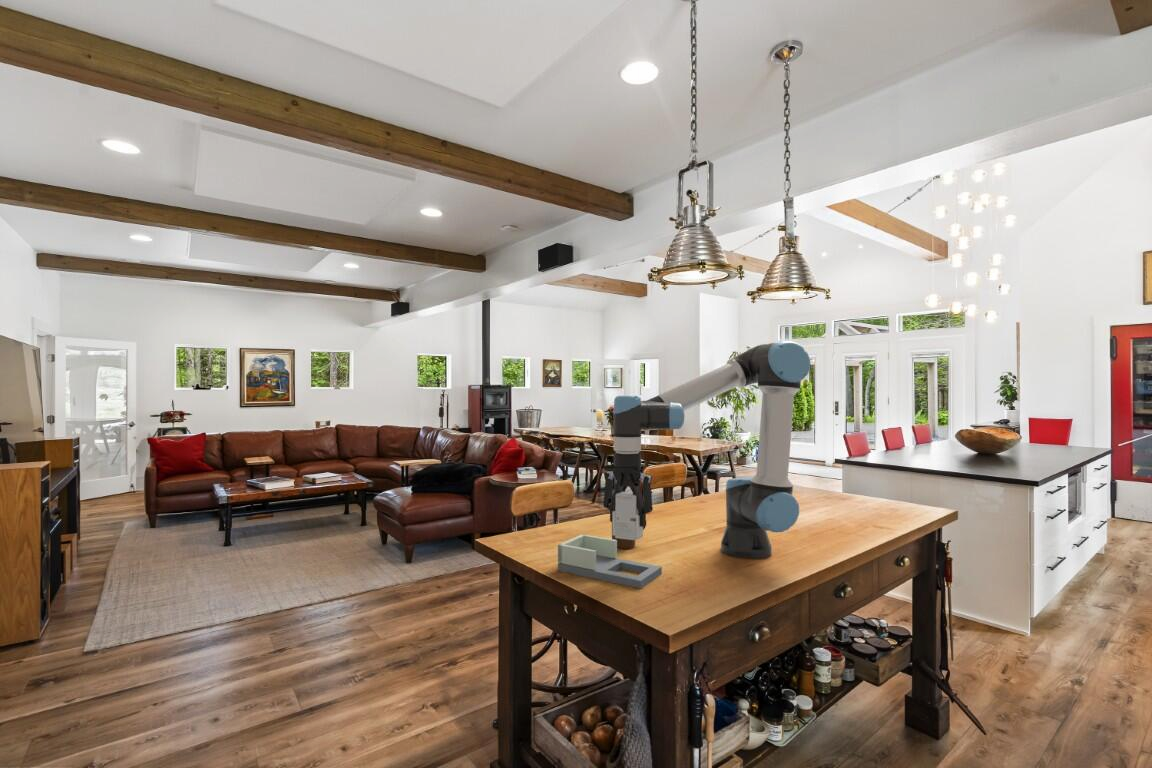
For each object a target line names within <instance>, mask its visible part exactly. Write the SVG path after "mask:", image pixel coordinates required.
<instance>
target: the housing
mask: <svg viewBox="0 0 1152 768" xmlns="http://www.w3.org/2000/svg"><path fill="white" fill-rule="evenodd" d="M596 555H600V556H606V557H611V558H618V548H617V540H613V539H612V538H606V537H601V536H600V537H599V536H595V535H588V534H582V533H581V534H579V535H577V536H575V537H573V538H570V539H568V540H566V541H564V542H561V543H559V544H557V564H558V563H563V564H568V565H573V566H578V567H582V568H587V569H592V570H595V569H596Z"/></svg>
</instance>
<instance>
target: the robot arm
mask: <svg viewBox="0 0 1152 768" xmlns="http://www.w3.org/2000/svg"><path fill="white" fill-rule="evenodd" d="M810 370H811V358H810V356H809V353H808V352H807V351H806V349H805V348H804V347H803V346H802V345H800V344H799V343H797V342H795V341H790V340H787V341H783V340H782V341H781V340H780V341H776V342H770V343H764V344H763V343H762V344H760V345H759V344H758V345H756V346H754V347H752V348H749V349H747V350H745V351H744V352H742V353H740V354H738V355H736V356H734V357H732V358H729V359H728V360H727V361H726V364H725V365H722V366H721V367H718V368H716V369H713V370H711V371H709V372H707V373H705V374H702V375H701V376H698V377H696V378H693V379H691V380H690V381H687V382H684V383H682V384H680V385H678V386H675V387H674V388H671V389H669V390H667V391H665V392H663V393H660V394H658V395H657V396H654V397H652V398H651V397H650V398H649V399H648V400H642V397H641V396H639V395H617V396H616V397H614V400H613V411H612V414H613V451H614V453H613V466H614V468H613V470H611V471H606V472H604V473H603V475H604V476H603V477H604V480H605V481H604V493H603V495H604V497H603V507H604V508H605V509H606V508H607V509H608V510H609V521H610V523H612V522H613V535H615V505H616V494H617V493H620V492H624V491H623V490H624V488H625V487H629V489H630V491H631V492H632V493H633V495H636V506H637V509H638V514H637V515H636V540H641V539H643V537H644V530H643V526H645V525H646V526H647V519H646V517H647V514H649V513H652V512H653V511H654V509H653V498H652V487H651V482H652V480H653V476H652V475H651V474H648V475H647V474H645V473H643V471H642V453H641V450H642V431H649V430H650V431H651V430H657V431H660V430H661V431H663V430H664V431H665V430H666V431H668V430H669V431H672V430H680V429H682V427H683V425H684V423H685V411H687V410H688V409H691V408H693V407H696V406H697V405H700V404H702V403H704V402H706V401H708V400H710V399H713V398H715V397H717V396H720V395H722V394H725V393H727V392H728V391H730V390H732V389H735V388H740V389H742V388H745V387H747V386H751V385H753V384H757V388H758V390H760V392H761V393H762V397H761V409H760V411H761V412H760V421H759V422H760V424H759V433H758V434H759V437H758V446H757V447H758V449H757V463H756V474H755V475H754V476H753V477H736V478H729V479H727V481H726V487H725V500H726V501H725V504H726V505H725V511H726V513H725V514H726V519H725V520H726V526H725V529H724V532H723V535H722V539H721V541H720V551H721V552H722V553H723V554H726V555H727V556H731V557H735V558H739V559H748V560H749V559H750V560H753V559H754V560H755V559H757V560H759V559H764V558H769V557H770V556H772V544H771V541H770V538H769V535H768V532H767V531H769V532H771V533H783V532H785V531H788V530H790V529H791V527H793V526H794V525H795V524H796V522H797V521H798V519H799V515H800V506H799V502H798V501H797V500H796V498H795V496H793V490H794V489H793V487H794V484H793V483H792V482H791V481H790V479H789V467H790V454H791V453H790V451H791V439H792V428H793V427H792V426H793V425H792V424H793V416H794V415H793V413H794V400H795V395H796V394H797V393H799V392H800V390H801V384H802V381H803V380H804V379H805V378H806V376H808V375H809V372H810ZM614 479H615V480H616V482H615V485H614ZM640 480H641V482H642V490H641V485H640V482H639V481H640ZM614 486H615V488H614ZM613 489H614V491H613ZM641 491H642V492H641Z"/></svg>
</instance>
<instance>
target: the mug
mask: <svg viewBox="0 0 1152 768" xmlns="http://www.w3.org/2000/svg"><path fill="white" fill-rule="evenodd" d="M646 527H647V524H646V525H645V526H643V531H644V530H645V529H646ZM611 539H613V540H617V550H619V549H620V550H630V549H632V548H634V547H636V540H629V539H620V538H615V535H613V522H611Z"/></svg>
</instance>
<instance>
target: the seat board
mask: <svg viewBox="0 0 1152 768" xmlns="http://www.w3.org/2000/svg"><path fill="white" fill-rule="evenodd" d="M621 570H624V571H628V572H632V573H639V574H637V575H632V574H626V573H623V572H618V571H621ZM662 571H663V566H661V565H660V566H659V565H655V564H650V563H644V562H639V561H634V560H628V559H623V558H622V559H621V558H618V557H617V558H611V557H606V556H600V555H596V569H595V570H592V569H587V568H582V567H578V566H573V565H568V564H563V563H558V562H557V572H563V573H566V572H567V573H568V574H572V575H576V576H579V577H586V578H589V579H595V580H599V581H603V582H608V583H614V584H616V585H617V584H618V585H623V586H627V587H631V588H636V589H640V590H641V589H642V588H644V587H646V586H647V585H649V584H650V583H652V582H653V581H654V580H655V579H656V578H658V577H660V576H661V575H662V573H663V572H662ZM567 573H566V574H567Z"/></svg>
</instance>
